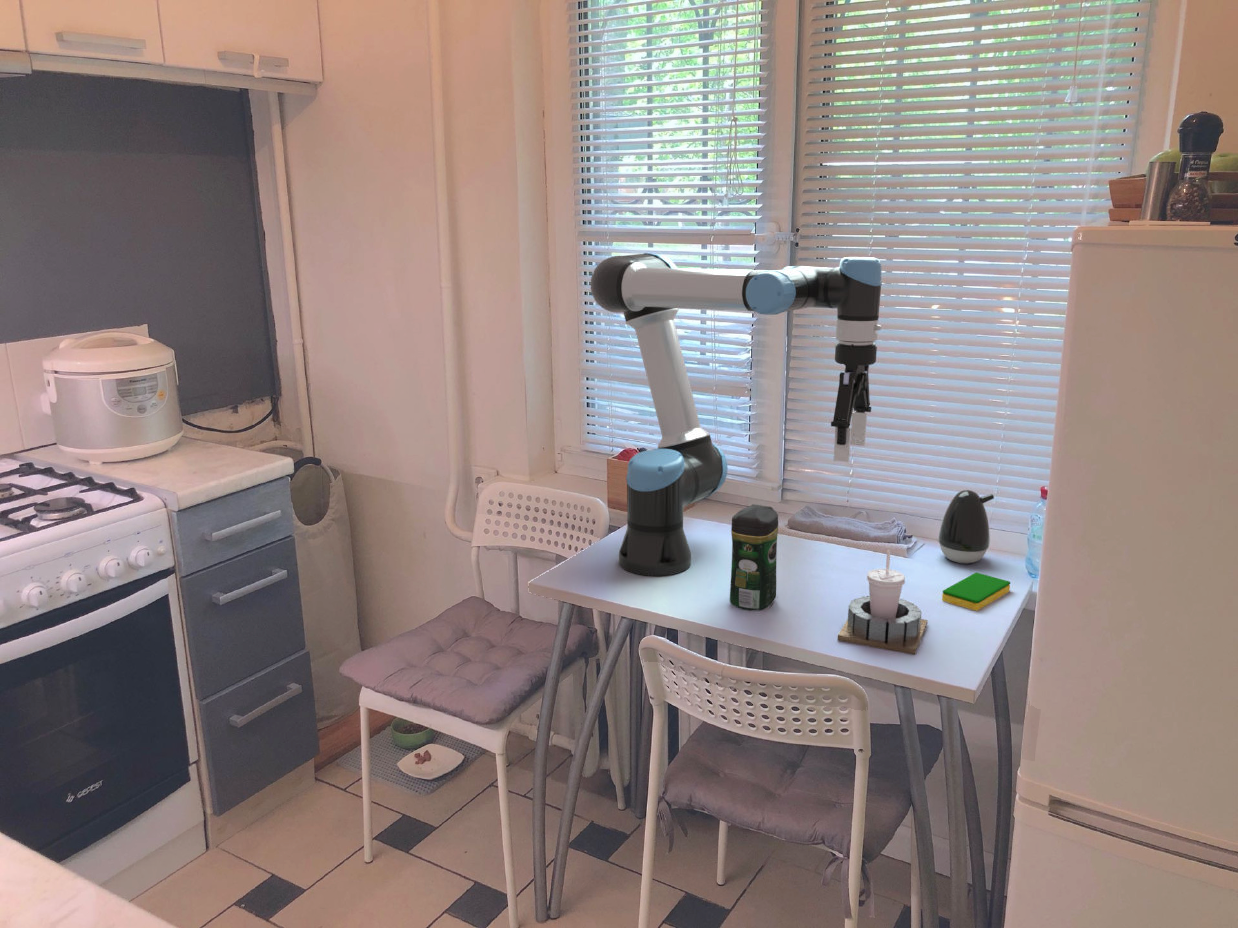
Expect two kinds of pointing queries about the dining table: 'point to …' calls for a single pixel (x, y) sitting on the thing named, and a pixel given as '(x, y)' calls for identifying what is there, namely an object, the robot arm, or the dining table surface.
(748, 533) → the coffee jar
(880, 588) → the smoothie
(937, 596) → the dining table surface
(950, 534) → the pump dispenser
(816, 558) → the dining table surface
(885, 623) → the stone fire pit ring
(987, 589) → the dish sponge
